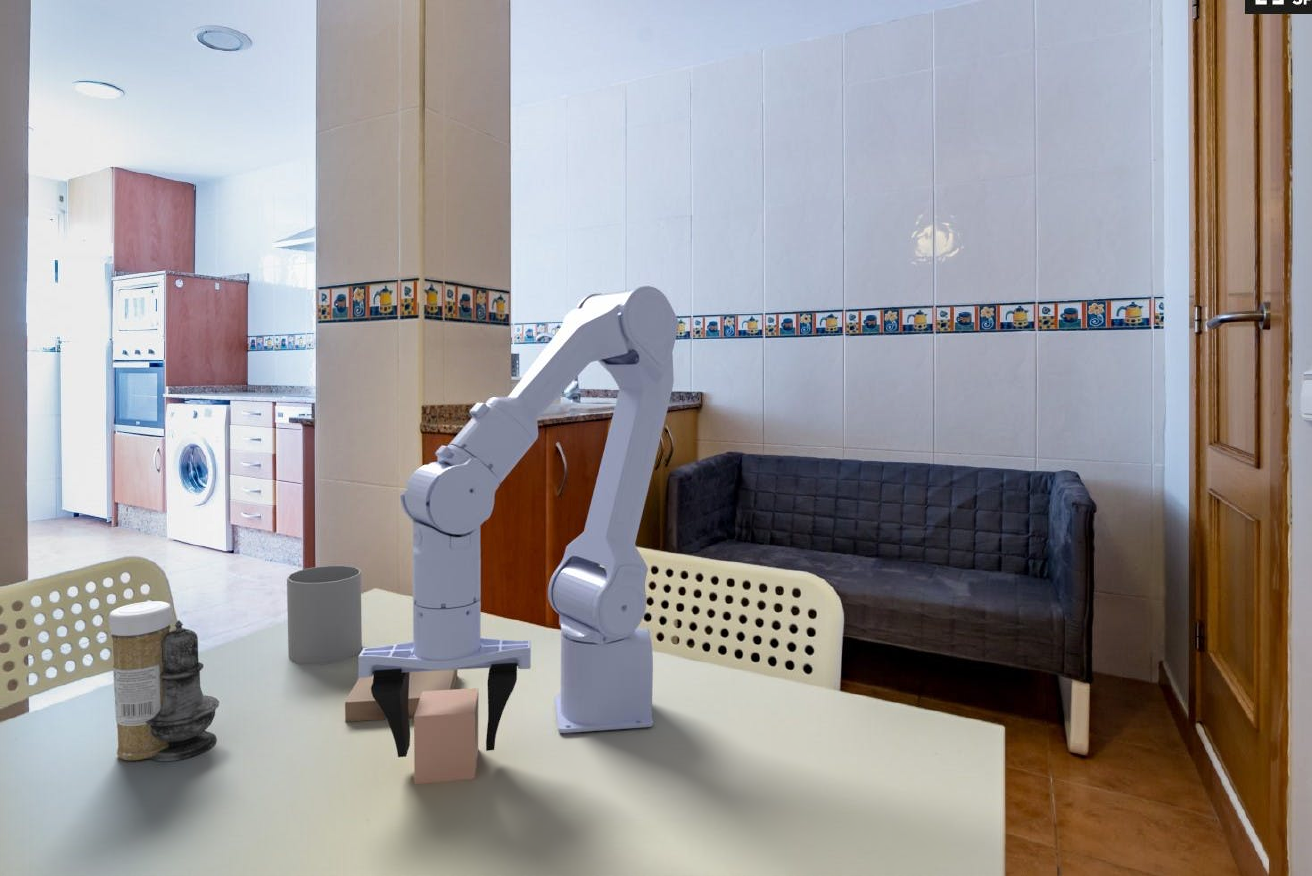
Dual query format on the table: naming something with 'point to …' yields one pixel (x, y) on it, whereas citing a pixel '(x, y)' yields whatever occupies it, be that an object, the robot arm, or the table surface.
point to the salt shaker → (182, 700)
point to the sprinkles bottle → (138, 674)
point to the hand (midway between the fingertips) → (447, 748)
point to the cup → (324, 614)
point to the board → (366, 707)
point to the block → (446, 736)
